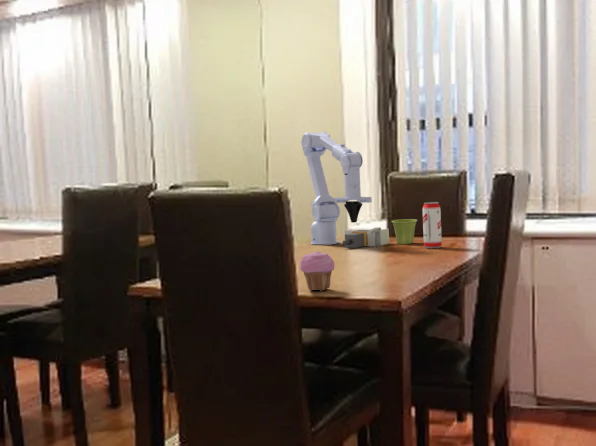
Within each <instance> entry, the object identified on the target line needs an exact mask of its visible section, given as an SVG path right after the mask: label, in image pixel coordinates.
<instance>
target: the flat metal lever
mask: <svg viewBox="0 0 596 446" xmlns="http://www.w3.org/2000/svg"><path fill="white" fill-rule="evenodd" d="M381 229H382V227H378V226H377V227H374V229H371V230H369V231H367V234H373V233H375V232H377V231H381Z"/></svg>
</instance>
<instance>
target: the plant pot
mask: <svg viewBox="0 0 596 446" xmlns="http://www.w3.org/2000/svg"><path fill="white" fill-rule="evenodd" d="M417 222H418V219H413V218H411V219H410V218H409V219H406V218H405V219H403V218H402V219H393V220H391V223H392V225H393V229H394V234H395V240H396V243H397V245H400V244H401V245H410V244H413V243H414V238H415V230H416V229H415V228H416V225H417Z"/></svg>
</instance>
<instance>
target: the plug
mask: <svg viewBox="0 0 596 446" xmlns="http://www.w3.org/2000/svg"><path fill="white" fill-rule="evenodd" d="M342 245H343V246H344V248H346V249H347V248H350V249H357V248H361V247H367V246H368V240H367V231H360V232H355V231H353V232H352V233H350V234H345V233H344V240H342Z"/></svg>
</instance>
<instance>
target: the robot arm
mask: <svg viewBox="0 0 596 446" xmlns="http://www.w3.org/2000/svg"><path fill="white" fill-rule="evenodd" d="M300 143H301V147H302V151H303V154H304V156H305V158H306V163H307V166H308V170H309V175H310V178H311V183H312V187H313V191H314V196H315V199H314V200H313V201H312V203H311V214H312V218H313V219H314V221H313V222H312V223H311V225H310V234H311V237H310V238H311V242H310V244H311V245H326V246H327V245H328V246H330V245H335V244H339V243H342V241H341V240H337V224H336V223H337V222H336V221H338V218H339V217H340V215H341V209H340V206H339V205H338V203H341V204H343V203H344V204H343V205H344V207H345V210H346V211H347V213H348V216H349V219H350V223H353V224H354V223H357V222H358V217H359V213H360V211H361V208H362V206H363V203H366V204H367V203H372V202H373V201H372V200H373V198H372V196H362V194H361V192H362V191H361V169H360V168H361V167H362V165H363V163H364V161H363V156H362V154H361V153H360V151H355V152H353V151H352V149H350V148H348V147H346V146H345V144H344V143H337V142H335V140H333V139H332V138H331V135H330V134H329V133H328V132H327V131H322V132H320V131H319V132H307V131H306V132H304V133H303V135H302V138H301V141H300ZM326 150H328V151H329V152H331V156H332V157H333V158H334V159H336V160H337V161H339V162H340V165H341V168H342V174H343V175H344V177H343V178H344V197H343V196H342V197H338V196H337V197H333V196H331V195H330V193H329V189H328V185H327V180H326V176H325V173H324V168H323V165H322V161H321V156H323V155H324V154H325V152H326Z"/></svg>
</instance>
